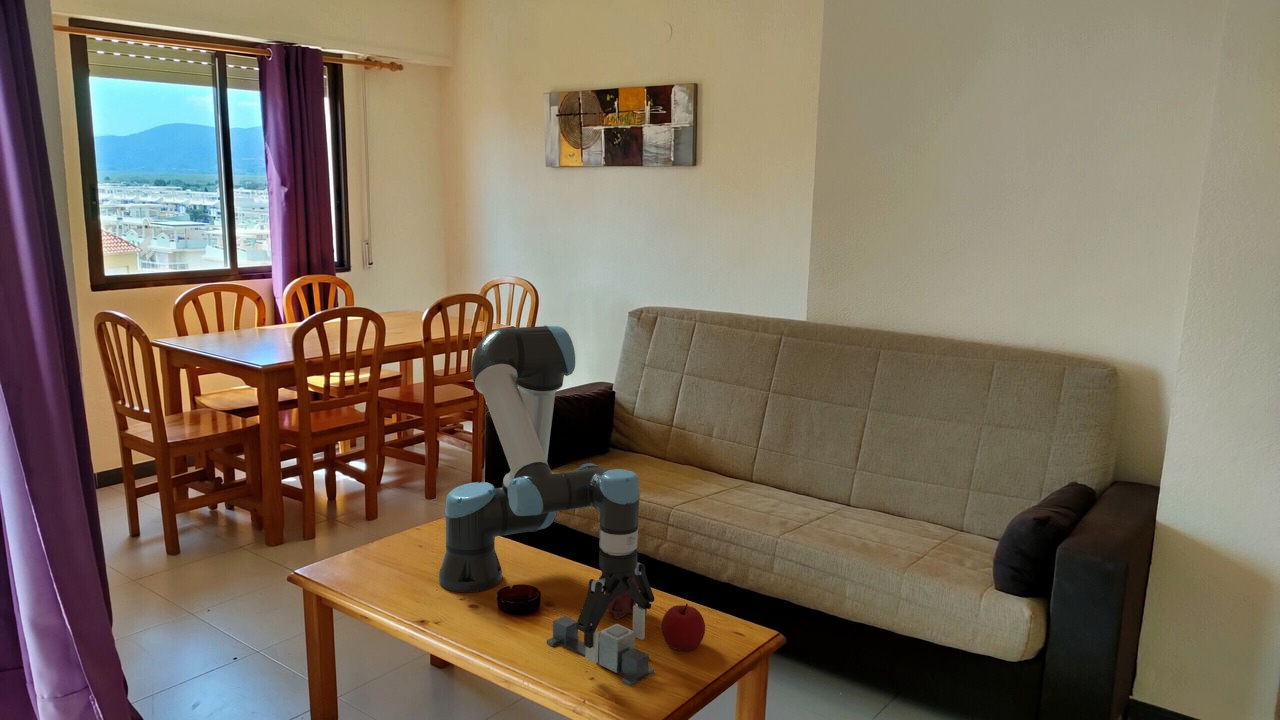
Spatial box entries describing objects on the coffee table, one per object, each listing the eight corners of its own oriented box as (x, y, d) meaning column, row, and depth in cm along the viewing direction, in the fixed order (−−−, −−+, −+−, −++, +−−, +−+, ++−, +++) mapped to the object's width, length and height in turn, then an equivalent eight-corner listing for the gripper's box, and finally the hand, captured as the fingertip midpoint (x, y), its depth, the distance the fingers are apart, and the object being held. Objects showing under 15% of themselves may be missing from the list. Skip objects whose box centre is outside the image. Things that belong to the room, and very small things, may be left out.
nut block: (598, 664, 182) (599, 630, 181) (616, 655, 186) (617, 622, 184) (616, 673, 179) (617, 638, 177) (634, 664, 182) (635, 630, 181)
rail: (546, 643, 191) (546, 623, 190) (570, 632, 196) (571, 613, 195) (630, 686, 175) (630, 664, 174) (654, 672, 180) (654, 651, 179)
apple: (702, 636, 196) (704, 593, 194) (706, 657, 187) (708, 612, 185) (659, 635, 196) (661, 592, 194) (661, 656, 187) (663, 611, 185)
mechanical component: (645, 606, 210) (637, 625, 200) (603, 601, 212) (593, 620, 202) (647, 555, 208) (638, 572, 198) (605, 551, 209) (594, 567, 200)
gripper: (586, 572, 166) (584, 678, 170) (673, 537, 185) (669, 634, 188) (558, 560, 171) (557, 664, 175) (646, 527, 190) (643, 622, 193)
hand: (615, 648), depth 182 cm, fingers open, 13 cm apart
